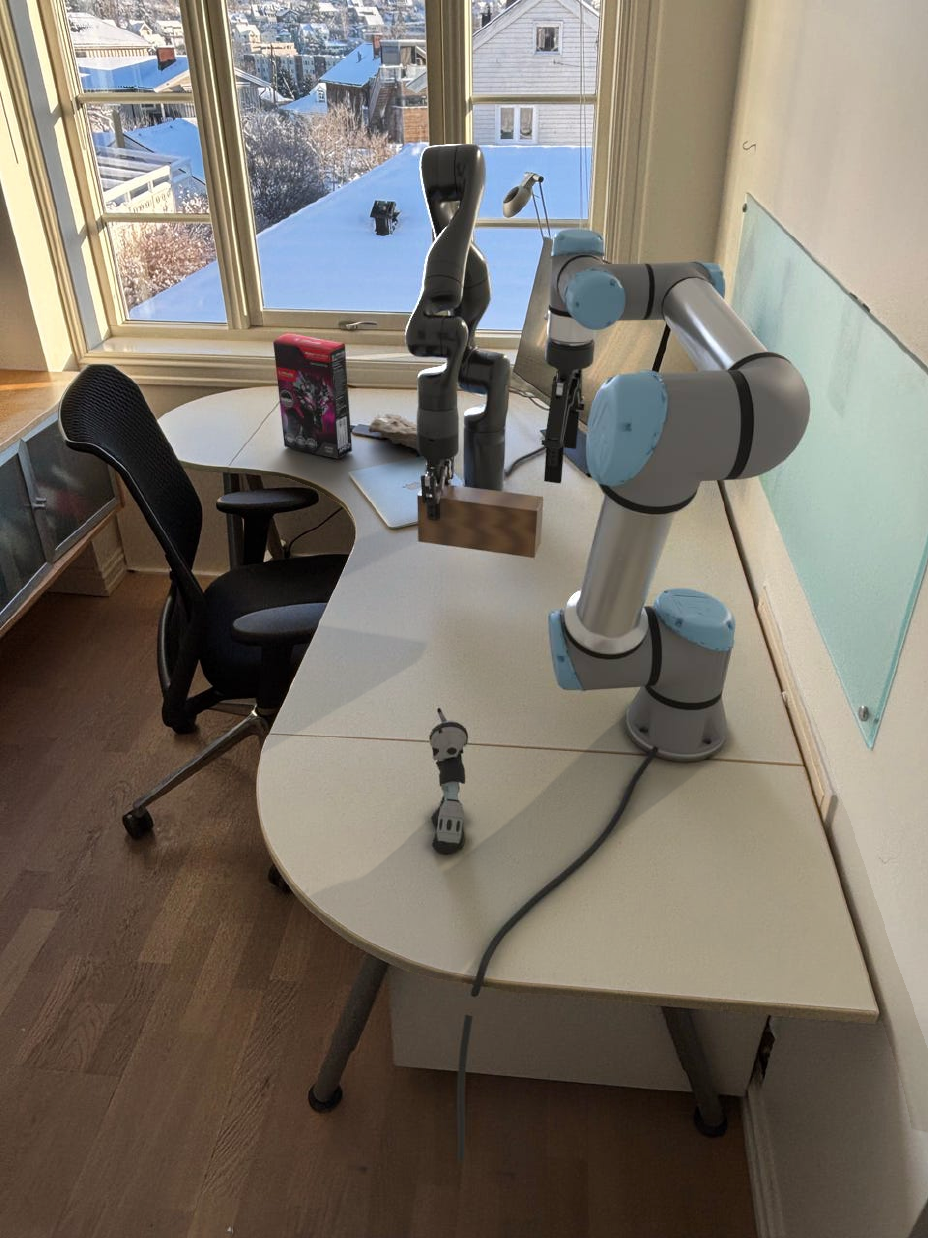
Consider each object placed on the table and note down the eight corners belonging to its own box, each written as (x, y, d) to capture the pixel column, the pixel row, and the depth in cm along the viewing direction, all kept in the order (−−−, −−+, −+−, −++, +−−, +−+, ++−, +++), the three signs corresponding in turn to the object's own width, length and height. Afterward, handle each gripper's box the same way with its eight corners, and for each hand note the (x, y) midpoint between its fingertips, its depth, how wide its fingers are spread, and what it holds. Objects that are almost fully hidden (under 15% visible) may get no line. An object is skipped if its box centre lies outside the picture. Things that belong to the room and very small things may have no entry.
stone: (352, 437, 229) (357, 414, 227) (374, 429, 242) (378, 406, 240) (431, 462, 226) (437, 438, 223) (448, 452, 239) (454, 429, 237)
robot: (470, 888, 117) (472, 772, 106) (432, 889, 117) (430, 773, 106) (463, 780, 133) (464, 669, 122) (429, 781, 133) (427, 670, 122)
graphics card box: (282, 447, 232) (270, 339, 217) (298, 438, 237) (288, 331, 222) (338, 461, 225) (330, 350, 210) (354, 451, 230) (347, 342, 215)
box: (540, 543, 176) (543, 496, 170) (534, 558, 171) (537, 510, 166) (427, 527, 181) (426, 481, 175) (418, 541, 176) (417, 495, 170)
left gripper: (429, 411, 172) (430, 493, 181) (405, 441, 160) (407, 526, 170) (468, 415, 170) (467, 498, 180) (446, 446, 159) (446, 532, 168)
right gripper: (562, 311, 153) (553, 431, 165) (529, 362, 133) (522, 493, 145) (607, 316, 151) (595, 436, 163) (580, 368, 131) (569, 500, 144)
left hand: (438, 511), depth 175 cm, fingers closed on box, 6 cm apart
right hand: (560, 463), depth 154 cm, fingers open, 13 cm apart
